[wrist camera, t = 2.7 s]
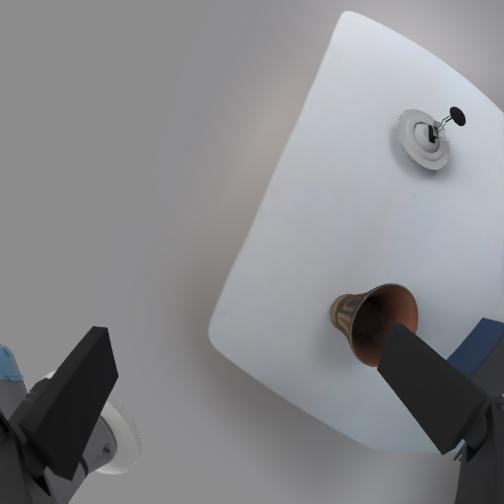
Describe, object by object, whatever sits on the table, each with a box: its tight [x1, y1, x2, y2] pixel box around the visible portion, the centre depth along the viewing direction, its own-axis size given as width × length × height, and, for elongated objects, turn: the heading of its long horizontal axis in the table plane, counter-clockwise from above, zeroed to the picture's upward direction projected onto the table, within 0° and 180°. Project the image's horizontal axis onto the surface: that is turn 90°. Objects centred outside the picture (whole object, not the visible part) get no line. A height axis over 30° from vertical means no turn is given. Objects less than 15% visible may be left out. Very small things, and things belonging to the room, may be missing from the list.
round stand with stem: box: [398, 107, 466, 170], centre depth 29 cm, size 12×10×10 cm
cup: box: [331, 284, 418, 367], centre depth 29 cm, size 9×9×10 cm
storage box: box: [446, 318, 504, 439], centre depth 30 cm, size 17×13×8 cm
